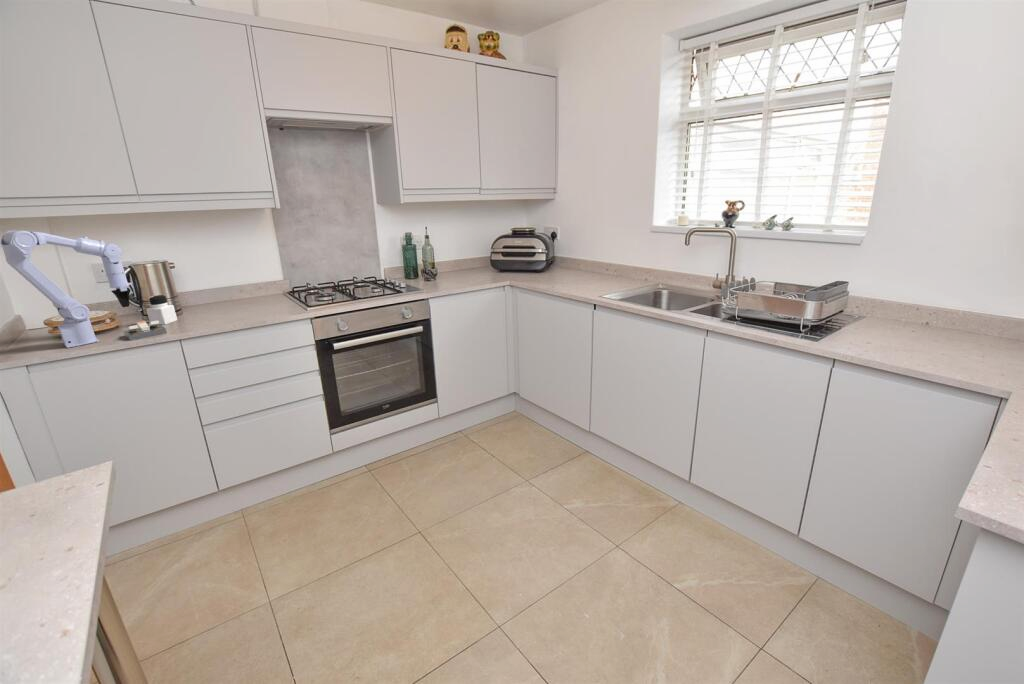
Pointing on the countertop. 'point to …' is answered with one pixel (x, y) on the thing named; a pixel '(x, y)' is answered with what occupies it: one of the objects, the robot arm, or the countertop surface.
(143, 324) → the rocker
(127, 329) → the rocker
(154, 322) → the rocker
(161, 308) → the medicine bottle
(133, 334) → the console
